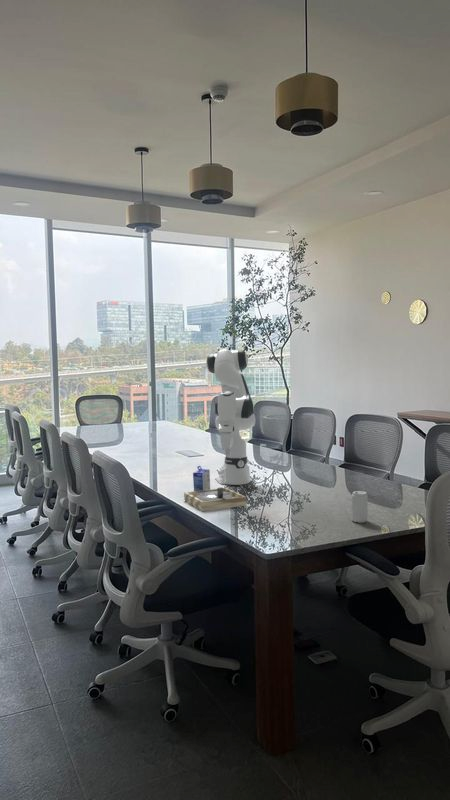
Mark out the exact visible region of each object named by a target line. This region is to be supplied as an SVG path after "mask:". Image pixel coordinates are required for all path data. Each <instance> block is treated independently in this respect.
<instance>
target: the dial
mask: <svg viewBox="0 0 450 800" xmlns="http://www.w3.org/2000/svg"><path fill="white" fill-rule="evenodd" d="M223 488H224V487H217V488H216V489H217V491H208V492H202V493H199V494H197V498H198V499H200V500H202V501H211V500H219V499H223V498H225V499H227V498H233V497H232V494H231V493H229V492H224V491H223Z"/></svg>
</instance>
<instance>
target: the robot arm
mask: <svg viewBox="0 0 450 800" xmlns="http://www.w3.org/2000/svg"><path fill="white" fill-rule="evenodd" d="M248 363H249V357H248V355H247V352H246V351H245V350H243V349H235V350H230V349H225V348H223V349H221V350H219V351H218V352H216V353H211V354H209V355H208V356H207V357H206V363H205V364H206V367H207V370H208V372H210V373H211V374H214V376H215V379H216V380H217V381H218V382H219V383H220V386H221V387H220V388H221V391H220V392H219V393H218V397H217V400H216V401H215V402H214V414H215V416H216V417H215V422H214V423H215V424H214V425H215V427H216V429H217V431H218V433H219V435H220V447H221V449H222V450H224V451H225V457H224V462H223V463H224V464H222V466H221V467H220V468H219V470H218V472H217V474H218V475H219V476H215V479H214V480H215V481H216V482H218V483H219V484H221V485H233V486H234V485H236V486H237V485H239V486H241V485H246V484H250V483H251V482H252V481H253V478H251V470H250V466H249V465H248V456H247V442H246V440H245V439H244V438H242V437H241V434H240V432H241V431H247V430H249V429H251V428H253V427H254V426H255V425H256V416H255V414H254V413H255V405H254V402H253V399H252V396H251V393H250V391H249V388H248V385H247V384H248V383H247V381H246V379H245V376H244V374H243V371H244V370H245V369H246V368H247V367H248Z"/></svg>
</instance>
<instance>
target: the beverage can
mask: <svg viewBox="0 0 450 800" xmlns="http://www.w3.org/2000/svg"><path fill="white" fill-rule="evenodd" d="M368 497H369V496H368V493H367V492H366V491H363V490H355V491H352V494H351V515H350V516H351V518H350V519H351V520H352V522H353V521H354V523H356V522H358V523H357V524H364V523H366V522H367V521H368V515H369V513H368V507H369V506H368V505H369V504H368V503H369V501H368ZM363 522H364V523H363Z"/></svg>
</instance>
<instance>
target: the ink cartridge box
mask: <svg viewBox="0 0 450 800" xmlns="http://www.w3.org/2000/svg"><path fill="white" fill-rule="evenodd" d="M196 468H197V470H196V471H194V472H192V478H193V491H202V490H210V489H211V478H210V477H211V476H210V475H211V474H210V472H211V471H210V470H211V469H209V468H208V469H205V468H202V466H201V465H198V466H197V467H196Z"/></svg>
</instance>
